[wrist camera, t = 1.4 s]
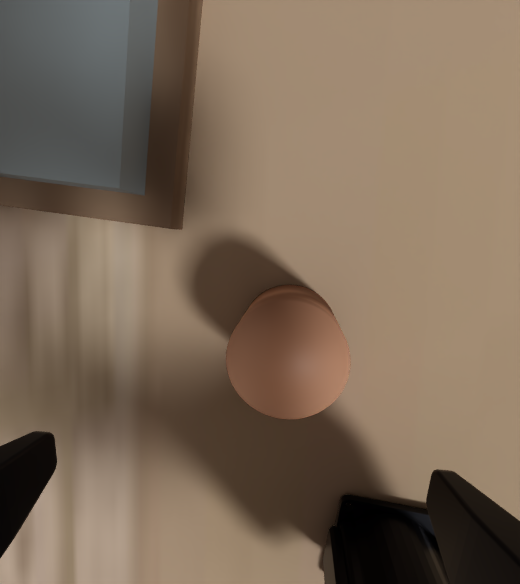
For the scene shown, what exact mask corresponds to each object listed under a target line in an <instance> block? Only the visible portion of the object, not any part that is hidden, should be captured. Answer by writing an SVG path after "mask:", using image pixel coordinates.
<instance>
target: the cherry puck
mask: <svg viewBox="0 0 520 584" xmlns="http://www.w3.org/2000/svg"><path fill="white" fill-rule="evenodd" d="M350 365H351V362H350V351H349V347H348V344H347V341H346V339H345V336H344V334H343V332H342V330H341V328H340V326H339V324H338V322H337V320H336V318H335V316H334V314H333V312H332V310H331V308H330V307H329V305H328V304H327V303H326V301H325V300H324V299H323V298H322V297H321V296H320V295H318V294H317V293H315V292H314V291H312V290H310V289H308V288H305V287H302V286H298V285H281V286H276V287H273V288H270V289H268V290H266V291H265V292H263V293H261V294H260V295H259V296H258V297H257V298H256V299H255V300H254V301H253V302H252V303H251V305H250V306H249V308H248V309H247V311H246V312H245V314H244V315H243V317H242V318H241V320H240V322H239V323H238V325H237V326H236V328H235V329H234V331H233V333H232V335H231V337H230V340H229V342H228V346H227V351H226V366H227V371H228V375H229V378H230V381H231V383H232V385H233V387H234V389H235V390H236V392H237V393H238V394H239V396H240V397H241V398H242V399H243V400H244V401H245V402H246V403H247V404H248V405H250V406H251V407H252V408H254V409H255V410H257V411H259V412H261V413H263V414H265V415H268V416H271V417H275V418H279V419H300V418H305V417H309V416H312V415H314V414H317V413H319V412H321V411H322V410H324V409H326V408H327V407H328V406H330V405H331V404H332V403H333V402H334V401H335V400H336V399H337V398H338V396H339V395H340V394H341V392H342V391H343V389H344V387H345V385H346V383H347V380H348V377H349V373H350Z"/></svg>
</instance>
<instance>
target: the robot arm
mask: <svg viewBox="0 0 520 584" xmlns="http://www.w3.org/2000/svg"><path fill="white" fill-rule="evenodd" d="M56 465H57V456H56V447H55V438H54V435H53V434H52V433H50V432H41V431H35V432H32V433H29V434H27V435H25V436H22V437H20V438H18V439H16V440H13V441H11V442H9V443H7V444H4V445H2V446H0V558H1V557H2V555H3V554H4V552H5V551H6V550H7V548H8V547H9V545H10V544H11V542H12V541H13V539H14V538H15V536H16V535H17V533H18V531H19V530H20V528H21V527H22V525H23V523H24V522H25V520H26V518H27V517H28V515H29V513H30V512H31V510H32V508H33V507H34V505H35V503H36V502H37V500H38V498H39V496H40V495H41V493H42V491H43V490H44V488H45V486H46V485H47V483H48V481H49V480H50V478H51V476H52V475H53V473H54V471H55V469H56ZM347 503H351V505H346V504H347ZM426 504H427V510H425V509H420V508H415V507H410V506H405V505H400V504H395V503H389V502H384V501H379V500H374V499H369V498H364V497H359V496H354V495H344V496H342V497H341V499H340V502H339V507H338V512H337V517H336V522H335V526H333V525H332V526H331V527H330V528H329V531H328V536H327V541H326V546H325V551H324V556H323V568H324V580H325V584H520V521H519V520H518V519H516V518H515V517H514V516H512V515H511V514H510V513H508V512H507V511H506V510H504V509H503V508H502V507H500V506H499V505H498V504H496V503H495V502H494V501H492V500H491V499H490V498H488V497H487V496H486V495H484V494H483V493H482V492H480V491H479V490H478V489H476V488H475V487H474V486H472V485H471V484H470V483H469V482H467V481H466V480H465V479H463V478H462V477H461V476H459V475H458V474H457V473H455V472H453V471H448V470H438V469H437V470H434V471H433V472H432V475H431V479H430V484H429V489H428V494H427V499H426Z"/></svg>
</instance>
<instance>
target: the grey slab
mask: <svg viewBox="0 0 520 584" xmlns="http://www.w3.org/2000/svg"><path fill="white" fill-rule="evenodd" d="M157 9H158V0H0V177H7V178H15V179H23V180H30V181H38V182H46V183H53V184H61V185H69V186H76V187H84V188H92V189H99V190H107V191H115V192H122V193H130V194H137V195H145V182H146V168H147V153H148V139H149V124H150V110H151V95H152V81H153V66H154V52H155V37H156V23H157Z"/></svg>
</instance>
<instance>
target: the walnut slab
mask: <svg viewBox="0 0 520 584" xmlns="http://www.w3.org/2000/svg"><path fill="white" fill-rule="evenodd" d="M202 3H203V0H158V9H157V23H156V37H155V52H154V66H153V81H152V95H151V110H150V124H149V139H148V153H147V168H146V182H145V195H137V194H130V193H122V192H115V191H107V190H99V189H92V188H84V187H76V186H69V185H61V184H53V183H46V182H38V181H30V180H23V179H15V178H7V177H0V205H3V206H10V207H17V208H25V209H32V210H39V211H46V212H54V213H61V214H68V215H75V216H83V217H90V218H97V219H104V220H111V221H119V222H126V223H133V224H140V225H148V226H155V227H162V228H169V229H182V225H183V214H184V203H185V192H186V180H187V169H188V158H189V147H190V136H191V125H192V114H193V103H194V92H195V80H196V69H197V58H198V47H199V36H200V25H201V14H202Z"/></svg>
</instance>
